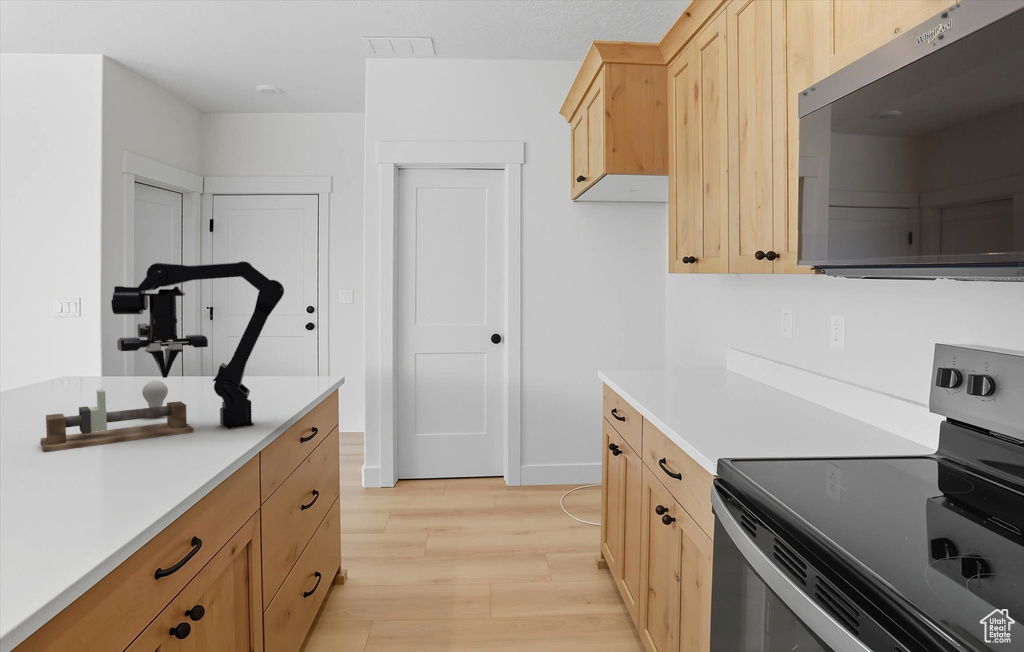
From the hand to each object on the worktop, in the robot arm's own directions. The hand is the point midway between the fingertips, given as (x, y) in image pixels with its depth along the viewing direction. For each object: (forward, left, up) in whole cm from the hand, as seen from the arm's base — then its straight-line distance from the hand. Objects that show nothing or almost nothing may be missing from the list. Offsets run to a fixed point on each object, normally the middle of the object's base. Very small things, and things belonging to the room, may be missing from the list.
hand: (164, 377), depth 150 cm
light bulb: (-1, -17, -13) cm, 22 cm away
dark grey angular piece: (+17, +2, -11) cm, 20 cm away
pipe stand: (+10, +2, -13) cm, 17 cm away
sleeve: (+14, +2, -10) cm, 18 cm away
